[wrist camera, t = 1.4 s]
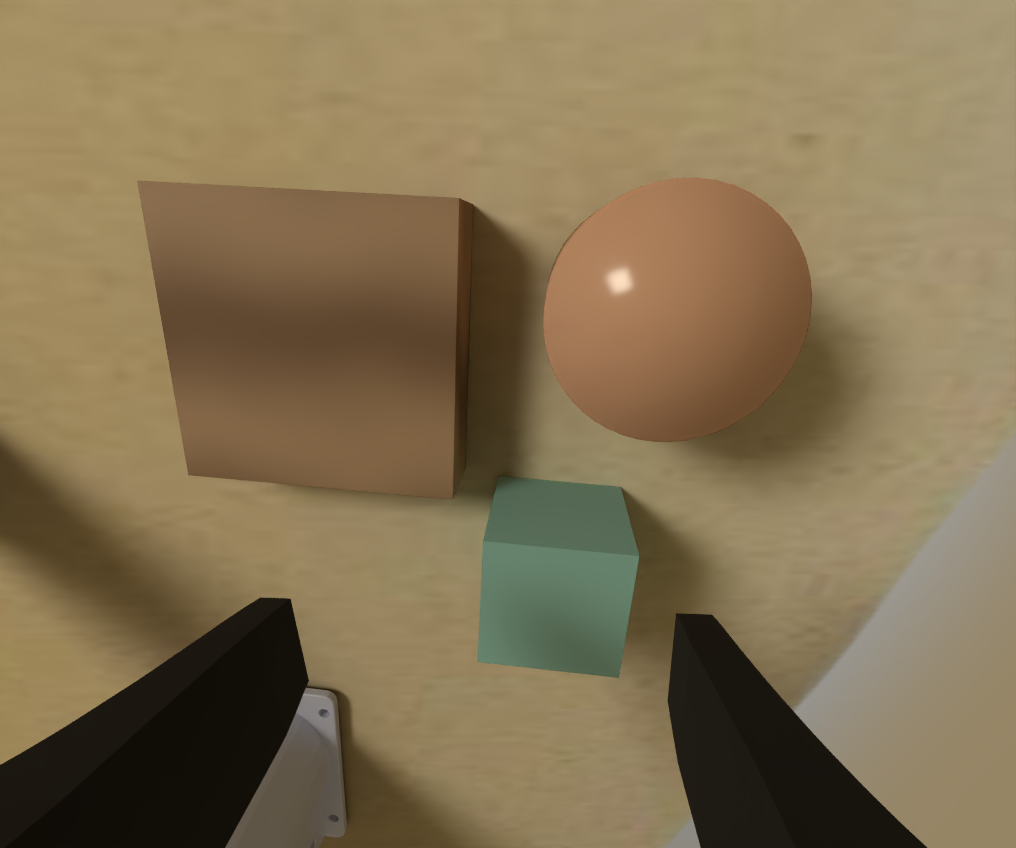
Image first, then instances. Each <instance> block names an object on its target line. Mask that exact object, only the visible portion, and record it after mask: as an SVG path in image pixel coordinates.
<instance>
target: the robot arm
mask: <svg viewBox="0 0 1016 848" xmlns="http://www.w3.org/2000/svg"><path fill="white" fill-rule="evenodd" d="M308 681H309V680H308V675H307V671H306V666H305V662H304V657H303V653H302V648H301V644H300V639H299V635H298V630H297V626H296V621H295V617H294V612H293V608H292V604H291V599H285V598H259V599H258V600H256V601H254V602H253V603H251V604H249V605H248V606H246V607H245V608H243V609H242V610H240V611H239V612H237V613H236V614H234V615H233V616H231V617H230V618H228V619H227V620H225V621H224V622H222V623H221V624H219V625H218V626H216V627H215V628H214V629H212V630H211V631H209V632H208V633H206V634H205V635H203V636H202V637H201V638H199V639H198V640H196V641H195V642H193V643H192V644H190V645H189V646H187V647H186V648H185V649H183V650H182V651H180V652H179V653H177V654H176V655H174V656H173V657H171V658H170V659H168V660H167V661H166V662H164V663H163V664H161V665H160V666H158V667H157V668H155V669H154V670H152V671H151V672H149V673H148V674H146V675H145V676H144V677H142V678H141V679H139V680H138V681H136V682H134V683H133V684H131V685H130V686H128V687H127V688H125V689H124V690H122V691H120V692H119V693H117V694H116V695H114V696H113V697H111V698H110V699H108V700H106V701H105V702H103V703H102V704H100V705H99V706H97V707H96V708H94V709H92V710H91V711H89V712H88V713H86V714H85V715H83V716H82V717H80V718H78V719H77V720H75V721H74V722H72V723H71V724H69V725H67V726H66V727H64V728H63V729H61V730H59V731H58V732H56V733H54V734H53V735H51V736H49V737H48V738H46V739H44V740H43V741H41V742H39V743H38V744H36V745H34V746H33V747H31V748H29V749H27V750H26V751H24V752H22V753H21V754H19V755H17V756H15V757H13V758H12V759H10V760H8V761H6V762H5V763H3V764H1V765H0V848H320V845H321V843H322V840H323V838H324V836H327V837H334V838H339V837H342V836H343V835H344V834H345V831H346V828H347V819H346V806H345V793H344V780H343V767H342V754H341V741H340V728H339V715H338V702H337V697H336V696H335V694H334V693H332V692H331V691H328V690H320V689H312V688H306V686H307V684H308ZM668 705H669V712H670V718H671V724H672V730H673V737H674V742H675V748H676V754H677V760H678V765H679V768H680V772H681V776H682V780H683V784H684V787H685V791H686V795H687V799H688V802H689V806H690V810H691V814H692V817H693V821H694V824H695V828H696V832H697V835H698V839H699V843H700V847H701V848H927V847H926V846H925V845H924V844H923V843H922V842H921V841H919V840H918V839H917V838H916V837H915V836H914V835H913V834H912V833H911V832H910V831H909V830H908V829H906V827H904V826H903V825H902V824H901V823H900V822H899V821H898V820H897V819H896V818H895V817H894V816H893V815H892V814H891V813H890V812H889V811H888V810H887V809H886V808H885V807H884V806H883V805H882V804H881V803H880V802H879V801H878V800H877V799H876V798H875V797H874V796H873V795H872V794H871V793H870V792H869V791H868V790H867V789H866V788H865V787H864V786H863V785H862V784H861V783H860V782H859V781H858V780H857V779H856V778H855V777H854V776H853V775H852V774H851V773H850V772H849V771H848V770H847V769H846V768H845V767H844V766H843V765H842V763H840V762H839V760H838V759H836V757H835V756H834V755H833V754H832V753H831V752H830V751H829V750H828V749H827V748H826V747H825V746H824V745H823V744H822V742H821V741H820V740H819V739H818V738H817V737H816V736H815V735H814V734H813V733H812V732H811V730H810V729H809V728H808V727H807V726H806V725H805V724H804V723H803V722H802V720H801V719H800V718H799V717H798V716H797V715H796V714H795V713H794V711H793V710H792V709H791V708H790V707H789V706H788V705H787V704H786V702H785V701H784V700H783V699H782V698H781V697H780V696H779V695H778V693H777V692H776V691H775V690H774V689H773V688H772V686H771V685H770V684H769V683H768V682H767V681H766V679H765V678H764V677H763V676H762V675H761V673H760V672H759V671H758V670H757V669H756V667H755V666H754V665H753V664H752V663H751V661H750V660H749V659H748V658H747V657H746V655H745V654H744V653H743V652H742V650H741V649H740V648H739V647H738V645H737V644H736V643H735V642H734V641H733V639H732V638H731V637H730V636H729V634H728V633H727V632H726V631H725V629H724V628H723V627H722V626H721V624H720V623H719V622H718V621H717V620H716V619H715V618H714V616H713V615H704V614H678V613H676V620H675V631H674V641H673V651H672V662H671V672H670V682H669V693H668Z"/></svg>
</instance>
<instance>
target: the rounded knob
mask: <svg viewBox="0 0 1016 848" xmlns="http://www.w3.org/2000/svg"><path fill="white" fill-rule="evenodd" d="M811 301H812V292H811V280H810V274H809V270H808V266H807V261H806V258H805V256H804V253H803V251H802V248H801V246H800V243H799V242H798V240H797V238H796V236H795V235H794V233H793V231H792V230H791V228H790V227H789V226H788V224H787V223H786V222H785V221H784V219H783V218H782V217H781V216H780V215H779V214H778V213H777V212H776V211H775V210H774V209H773V208H772V207H770V206H769V205H768V204H767V203H766V202H764V201H763V200H761V199H760V198H758V197H757V196H755V195H754V194H752V193H750V192H748V191H746V190H744V189H742V188H739V187H737V186H735V185H732V184H728V183H724V182H721V181H717V180H711V179H703V178H676V179H670V180H664V181H658V182H655V183H652V184H648V185H645V186H642V187H639V188H637V189H635V190H633V191H630V192H628V193H626V194H624V195H622V196H620V197H619V198H617V199H615V200H614V201H612V202H610V203H609V204H607V205H606V206H604V207H603V208H601V209H600V210H598V211H597V212H596V213H594V214H593V215H591V216H590V217H589V218H588V219H586V220H585V221H584V222H583V223H581V224H580V225H579V226H578V227H577V228H576V229H575V230H574V232H573V233H572V234H571V235H570V236H569V238H568V239H567V240H566V242H565V243H564V244H563V246H562V248H561V250H560V251H559V253H558V255H557V257H556V260H555V262H554V264H553V267H552V270H551V274H550V277H549V282H548V287H547V293H546V300H545V307H544V327H543V329H544V338H545V346H546V350H547V354H548V358H549V361H550V364H551V366H552V369H553V371H554V374H555V376H556V378H557V380H558V381H559V383H560V385H561V387H562V388H563V390H564V391H565V392H566V394H567V395H568V396H569V398H570V399H571V400H572V402H573V403H574V404H575V405H576V406H577V407H578V408H579V409H580V410H581V411H582V412H583V413H585V414H586V415H587V416H589V417H590V418H591V419H593V420H594V421H595V422H597V423H599V424H600V425H602V426H604V427H606V428H607V429H609V430H612V431H614V432H617V433H619V434H621V435H624V436H628V437H632V438H635V439H640V440H647V441H655V442H673V441H684V440H689V439H694V438H699V437H703V436H706V435H709V434H712V433H715V432H718V431H720V430H722V429H724V428H726V427H728V426H731V425H733V424H734V423H736V422H738V421H739V420H741V419H743V418H744V417H746V416H747V415H749V414H750V413H751V412H753V411H754V410H755V409H756V408H758V407H759V406H760V405H761V404H763V403H764V402H765V401H766V400H767V399H768V398H769V397H770V396H771V395H772V394H773V393H774V392H775V390H776V389H777V388H778V387H779V385H780V384H781V383H782V382H783V380H784V379H785V378H786V376H787V375H788V373H789V371H790V370H791V368H792V367H793V365H794V363H795V361H796V359H797V357H798V355H799V353H800V351H801V348H802V346H803V343H804V340H805V337H806V334H807V331H808V325H809V320H810V315H811Z"/></svg>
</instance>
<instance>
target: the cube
mask: <svg viewBox="0 0 1016 848" xmlns="http://www.w3.org/2000/svg"><path fill="white" fill-rule="evenodd" d="M638 562H639V553H638V549H637V546H636V542H635V538H634V535H633V531H632V527H631V523H630V520H629V516H628V512H627V509H626V505H625V501H624V498H623V494H622V490H621V487H616V486H605V485H594V484H583V483H571V482H560V481H549V480H538V479H526V478H515V477H504V476H499V477H498V481H497V485H496V489H495V494H494V498H493V502H492V506H491V510H490V515H489V519H488V523H487V527H486V531H485V535H484V540H483V555H482V577H481V599H480V621H479V643H478V662H482V663H491V664H500V665H509V666H518V667H527V668H536V669H545V670H554V671H563V672H572V673H581V674H590V675H599V676H608V677H617V678H619V675H620V669H621V663H622V657H623V651H624V645H625V639H626V633H627V627H628V621H629V615H630V609H631V603H632V597H633V591H634V585H635V579H636V573H637V568H638Z"/></svg>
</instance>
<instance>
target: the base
mask: <svg viewBox="0 0 1016 848" xmlns="http://www.w3.org/2000/svg"><path fill="white" fill-rule="evenodd" d="M137 182H138V188H139V194H140V199H141V205H142V211H143V217H144V222H145V228H146V234H147V240H148V245H149V251H150V257H151V263H152V268H153V274H154V280H155V286H156V291H157V297H158V303H159V308H160V314H161V320H162V326H163V331H164V337H165V343H166V349H167V354H168V360H169V366H170V372H171V377H172V383H173V389H174V395H175V400H176V406H177V412H178V418H179V423H180V429H181V435H182V441H183V446H184V452H185V458H186V464H187V469H188V475H193V476H204V477H215V478H226V479H236V480H247V481H258V482H269V483H280V484H291V485H301V486H312V487H323V488H334V489H345V490H356V491H366V492H377V493H388V494H399V495H410V496H420V497H431V498H442V499H453V498H454V495H455V493H456V490H457V487H458V485H459V482H460V480H461V477H462V475H463V472H464V470H465V465H466V432H467V399H468V365H469V332H470V298H471V265H472V231H473V204H471V203H469V202H467V201H464V200H462V199H460V198H447V197H429V196H410V195H392V194H374V193H355V192H337V191H319V190H300V189H282V188H264V187H245V186H227V185H209V184H190V183H172V182H153V181H137Z"/></svg>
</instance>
